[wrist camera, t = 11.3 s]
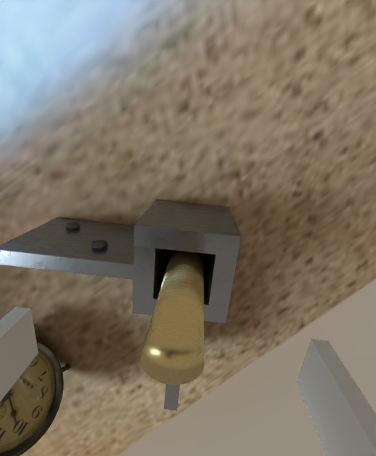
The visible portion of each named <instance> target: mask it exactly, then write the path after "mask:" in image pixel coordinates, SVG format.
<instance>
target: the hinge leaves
mask: <svg viewBox="0 0 376 456" xmlns="http://www.w3.org/2000/svg"><path fill="white" fill-rule="evenodd" d="M240 241H241V235H240V232H239V230H238V227H237V225H236V223H235V220H234V218H233V216H232V213H231V211H230V208H229V207H224V206H214V205H204V204H195V203H185V202H175V201H165V200H156V201H155V202H154V203H153V204H152V205H151V207H150V208H149V209H148V210H147V211H146V212H145V213H144V215H143V216H142V217H141V218H140V219H139V220H138V222H137V223H136V224H135V225H134V226H132V225H123V224H113V223H104V222H94V221H85V220H75V219H66V218H55V219H53V220H51V221H49V222H47V223H45V224H43V225H41V226H39V227H37V228H35V229H33V230H31V231H29V232H27V233H25V234H23V235H21V236H19V237H16V238H14V239H12V240H10V241H8V242H6V243H4V244H2V245H0V264H1V265H10V266H19V267H27V268H36V269H45V270H54V271H63V272H72V273H81V274H90V275H99V276H108V277H117V278H126V279H134V280H133V313H139V314H148V315H153V312H154V309H155V306H156V302H157V299H158V295H159V292H160V289H161V285H162V282H163V279H164V275H165V272H166V268H167V265H168V262H169V258H170V255H171V253H168V249H169V250H179V251H188V252H197V253H206V254H207V257H204V321H208V322H217V323H225V324H226V320H227V314H228V309H229V303H230V297H231V292H232V286H233V281H234V275H235V269H236V264H237V258H238V253H239V247H240ZM179 388H180V385H170V384H166V391H165V403H164V409H169V410H176V411H177V406H178V397H179Z"/></svg>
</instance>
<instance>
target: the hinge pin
mask: <svg viewBox="0 0 376 456" xmlns="http://www.w3.org/2000/svg"><path fill="white" fill-rule="evenodd" d="M141 364H142V367H143V369H144V370H145V372H146V373H147V374H148V375H149V376H150V377H152V378H153V379H155V380H157V381H159V382H161V383H165V384H170V385H180V384H186V383H189V382H191V381H193V380H194V379H196V378H197V377H198V376H199V375H200V374H201V372H202V370H203V368H204V253H197V252H188V251H179V250H172V252H171V255H170V258H169V262H168V265H167V268H166V272H165V275H164V279H163V282H162V285H161V289H160V292H159V295H158V299H157V302H156V306H155V309H154V312H153V316H152V319H151V322H150V326H149V329H148V333H147V336H146V339H145V343H144V346H143V349H142V353H141Z"/></svg>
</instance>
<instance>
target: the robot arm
mask: <svg viewBox="0 0 376 456" xmlns="http://www.w3.org/2000/svg"><path fill="white" fill-rule="evenodd" d="M37 354H38V348H37V342H36V336H35V329H34V323H33V317H32V311H31V308H22V307H14V308H13V309H12V310H11V311H10V312H8V313H7V314H6V315H5V316H4V317H3V318H2V319H0V401H1V400H2V399H3V398H4V396H5V395H6V394H7V392H8V391H9V390H10V389H11V387H12V386H13V385H14V383H15V382H16V381H17V380H18V378H19V377H20V376H21V375H22V373H23V372H24V371H25V369H26V368H27V367H28V366H29V364H30V363H31V362H32V361H33V359H34V358H35V357H36V355H37ZM297 384H298V386H299V389H300V391H301V394H302V396H303V399H304V401H305V404H306V406H307V408H308V411H309V413H310V416H311V418H312V421H313V423H314V426H315V428H316V430H317V433H318V435H319V438H320V440H321V443H322V445H323V448H324V450H325V453H326V455H327V456H376V414H375V412H374V410H373V409H372V407H371V406H370V404H369V403H368V401H367V400H366V398H365V396H364V395H363V394H362V392H361V390H360V389H359V387H358V386H357V384H356V383H355V381H354V380H353V378H352V377H351V375H350V374H349V372H348V371H347V369H346V368H345V366H344V365H343V363H342V361H341V360H340V358H339V357H338V355H337V354H336V352H335V351H334V349H333V348H332V346H331V345H330V343H329V342H328V341H324V340H315V339H311V342H310V345H309V348H308V350H307V353H306V356H305V359H304V362H303V366H302V368H301V371H300V374H299V377H298V380H297Z"/></svg>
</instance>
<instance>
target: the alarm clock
mask: <svg viewBox="0 0 376 456" xmlns="http://www.w3.org/2000/svg"><path fill="white" fill-rule="evenodd" d="M36 342H37V348H38V354H37V355H36V357H35V358H34V359H33V361H32V362H31V363H30V364H29V366H28V367H27V368H26V369H25V371H24V372H23V373H22V375H21V376H20V377H19V378H18V380H17V381H16V382H15V383H14V385H13V386H12V387H11V389H10V390H9V391H8V392H7V394H6V395H5V396H4V398H3V399H2V400H1V401H0V456H20V455H22V454H23V453H24V452H26V451H27V450H28V449H30V448H31V447H32V446H33V445H35V443H36V442H37V441H38V440H39V439H40V438H41V437H42V436H43V435H44V434H45V432H46V431H47V430H48V428H49V427H50V425H51V424H52V422H53V420H54V418H55V416H56V414H57V412H58V409H59V406H60V403H61V399H62V394H63V385H64V384H63V383H64V382H63V373H62V372H64V371H65V370H69V369H70V368H71V365H69V364H68V365H66V366H65V367H61V365H60V363H59V361H58V359H57V357H56V355H55V354H54V353H53V351H52V350H51V349H50V348H48V347H47V346H46V345H45V344H43V343H41V342H40V341H37V340H36Z"/></svg>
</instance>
